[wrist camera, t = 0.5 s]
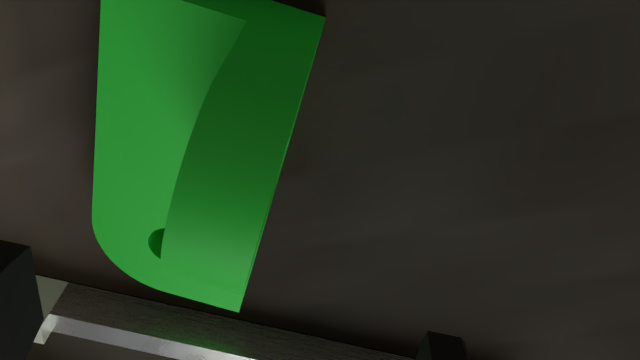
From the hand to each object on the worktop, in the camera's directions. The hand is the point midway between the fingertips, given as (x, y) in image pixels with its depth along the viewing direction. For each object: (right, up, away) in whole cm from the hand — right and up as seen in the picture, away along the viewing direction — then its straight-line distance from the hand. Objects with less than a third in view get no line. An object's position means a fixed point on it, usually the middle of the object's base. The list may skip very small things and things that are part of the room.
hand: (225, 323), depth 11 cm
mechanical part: (-3, +4, +11) cm, 12 cm away
